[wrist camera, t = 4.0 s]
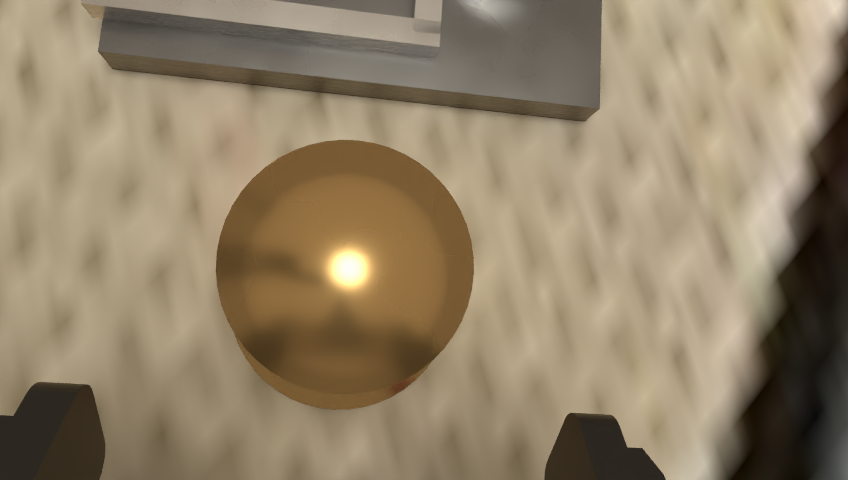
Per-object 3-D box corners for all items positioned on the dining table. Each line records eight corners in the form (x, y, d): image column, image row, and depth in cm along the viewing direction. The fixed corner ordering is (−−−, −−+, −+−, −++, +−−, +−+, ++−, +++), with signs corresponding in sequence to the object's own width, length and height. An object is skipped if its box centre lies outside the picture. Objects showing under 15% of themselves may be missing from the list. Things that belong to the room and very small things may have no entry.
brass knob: (229, 396, 18) (107, 466, 9) (252, 194, 19) (164, 50, 10) (434, 406, 19) (536, 481, 9) (445, 212, 20) (549, 94, 10)
